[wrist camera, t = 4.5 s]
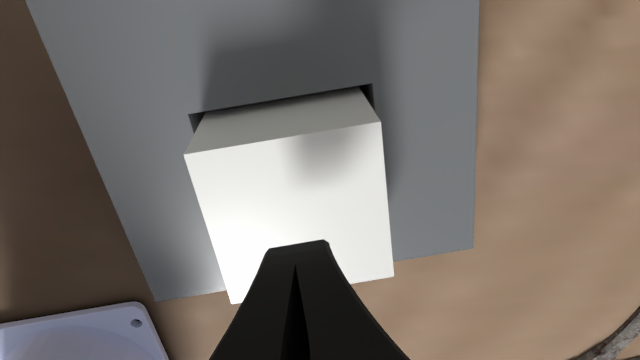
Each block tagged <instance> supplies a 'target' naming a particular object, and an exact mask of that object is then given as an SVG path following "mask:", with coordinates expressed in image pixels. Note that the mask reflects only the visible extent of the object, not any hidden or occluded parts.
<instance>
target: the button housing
mask: <svg viewBox="0 0 640 360" xmlns="http://www.w3.org/2000/svg"><path fill="white" fill-rule="evenodd" d="M25 2H26V4H27V6H28V9H29V11H30V13H31V16H32V18H33V20H34V22H35V25H36V27H37V29H38V32H39V34H40V36H41V39H42V41H43V43H44V46H45V48H46V50H47V53H48V55H49V57H50V59H51V62H52V64H53V66H54V69H55V71H56V73H57V76H58V78H59V80H60V83H61V85H62V87H63V90H64V92H65V94H66V97H67V99H68V101H69V103H70V106H71V108H72V110H73V113H74V115H75V117H76V120H77V122H78V124H79V127H80V129H81V131H82V134H83V136H84V138H85V140H86V143H87V145H88V147H89V150H90V152H91V154H92V157H93V159H94V161H95V164H96V166H97V168H98V171H99V173H100V175H101V178H102V180H103V182H104V184H105V187H106V189H107V191H108V194H109V196H110V198H111V201H112V203H113V205H114V208H115V210H116V212H117V215H118V217H119V219H120V221H121V224H122V226H123V228H124V231H125V233H126V235H127V238H128V240H129V242H130V245H131V247H132V249H133V252H134V254H135V256H136V259H137V261H138V263H139V265H140V268H141V270H142V272H143V275H144V277H145V279H146V282H147V284H148V286H149V289H150V291H151V293H152V296H153V298H154V300H155V302H160V301H166V300H172V299H177V298H183V297H189V296H195V295H201V294H207V293H213V292H219V291H224V290H227V288H226V285H225V282H224V279H223V276H222V273H221V270H220V267H219V263H218V260H217V257H216V254H215V251H214V248H213V245H212V242H211V239H210V236H209V233H208V229H207V226H206V223H205V220H204V217H203V214H202V211H201V208H200V205H199V202H198V198H197V195H196V192H195V189H194V186H193V183H192V180H191V177H190V174H189V171H188V168H187V164H186V161H185V158H184V155H183V154H184V152H185V151H186V149H187V147H188V145H189V143H190V141H191V139H192V137H193V135H194V133H195V131H196V130H197V128H198V126H199V124H200V122H201V120H202V118H203V116H204V114H205V112H208V111H210V110H216V109H222V108H228V107H234V106H240V105H246V104H252V103H258V102H263V101H269V100H275V99H281V98H287V97H293V96H299V95H305V94H311V93H317V92H323V91H329V90H335V89H341V88H347V87H353V86H359V88H360V90H361V91H362V93H363V94H364V96H365V97H366V99H367V101H368V102H369V104H370V105H371V107H372V108H373V110H374V111H375V113H376V115H377V116H378V118H379V119H380V121H381V128H382V140H383V152H384V164H385V175H386V187H387V199H388V210H389V222H390V234H391V246H392V257H393V262H395V261H401V260H407V259H413V258H419V257H424V256H430V255H436V254H442V253H448V252H454V251H460V250H466V249H472V248H473V243H474V202H475V160H476V118H477V76H478V34H479V0H25Z"/></svg>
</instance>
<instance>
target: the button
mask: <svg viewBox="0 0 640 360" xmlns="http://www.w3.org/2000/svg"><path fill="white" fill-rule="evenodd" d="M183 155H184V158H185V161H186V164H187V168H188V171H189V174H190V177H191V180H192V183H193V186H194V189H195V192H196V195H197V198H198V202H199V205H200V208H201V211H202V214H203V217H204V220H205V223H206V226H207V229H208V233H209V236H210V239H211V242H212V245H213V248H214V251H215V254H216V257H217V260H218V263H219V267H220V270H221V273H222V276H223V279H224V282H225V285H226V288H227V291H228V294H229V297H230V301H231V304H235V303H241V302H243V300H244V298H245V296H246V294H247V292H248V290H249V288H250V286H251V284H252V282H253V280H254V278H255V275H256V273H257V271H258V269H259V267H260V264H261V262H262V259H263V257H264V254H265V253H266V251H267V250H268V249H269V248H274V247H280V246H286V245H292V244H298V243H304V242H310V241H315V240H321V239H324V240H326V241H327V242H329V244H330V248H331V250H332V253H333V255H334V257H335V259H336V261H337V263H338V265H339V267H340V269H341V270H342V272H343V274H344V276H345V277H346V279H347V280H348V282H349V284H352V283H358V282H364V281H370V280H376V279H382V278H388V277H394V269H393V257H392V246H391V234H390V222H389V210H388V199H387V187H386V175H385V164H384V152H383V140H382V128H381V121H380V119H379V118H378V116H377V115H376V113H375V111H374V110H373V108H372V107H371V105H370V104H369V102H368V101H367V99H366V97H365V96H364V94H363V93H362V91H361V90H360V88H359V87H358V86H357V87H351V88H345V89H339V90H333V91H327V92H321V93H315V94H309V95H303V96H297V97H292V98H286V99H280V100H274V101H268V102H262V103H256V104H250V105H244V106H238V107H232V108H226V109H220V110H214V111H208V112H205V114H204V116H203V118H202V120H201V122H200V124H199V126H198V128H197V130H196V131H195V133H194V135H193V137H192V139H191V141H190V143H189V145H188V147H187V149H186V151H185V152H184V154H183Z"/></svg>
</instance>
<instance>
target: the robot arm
mask: <svg viewBox="0 0 640 360" xmlns="http://www.w3.org/2000/svg"><path fill="white" fill-rule="evenodd" d="M134 319H138V320H140V321H136V320H134ZM0 360H169V359H168V356H167V354H166V352H165V350H164V347H163V345H162V343H161V341H160V339H159V336H158V334H157V332H156V330H155V327H154V325H153V323H152V321H151V319H150V316H149V314H148V312H147V310H146V308H145V306H144V305H143V304H141V303H139V302H126V303H120V304H114V305H109V306H103V307H97V308H91V309H85V310H79V311H73V312H67V313H61V314H56V315H50V316H44V317H38V318H32V319H26V320H20V321H14V322H8V323H3V324H0ZM209 360H410V359H409V358H408V357H407V356H406V355H405V354H404V352H403V351H402V350H401V349H400V348H399V347H398V346H397V345H396V344H395V342H394V341H393V340H392V339H391V338H390V337H389V335H388V334H387V333H386V332H385V331H384V329H383V328H382V327H381V326H380V324H379V323H378V322H377V321H376V320H375V318H374V317H373V316H372V314H371V313H370V312H369V311H368V309H367V308H366V307H365V305H364V304H363V302H362V301H361V300H360V298H359V297H358V295H357V294H356V292H355V291H354V289H353V288H352V287H351V285H350V284H349V282H348V280H347V279H346V277H345V276H344V274H343V272H342V270H341V269H340V267H339V265H338V263H337V261H336V259H335V257H334V255H333V253H332V250H331V248H330V244H329V242H327V241H326V240H324V239H321V240H315V241H310V242H304V243H298V244H292V245H286V246H280V247H274V248H269V249H268V250H267V251H266V253H265V254H264V257H263V259H262V262H261V264H260V267H259V269H258V271H257V273H256V275H255V278H254V280H253V282H252V284H251V286H250V288H249V290H248V292H247V294H246V296H245V298H244V300H243V302H242V304H241V306H240V307H239V309H238V311H237V313H236V315H235V317H234V319H233V321H232V322H231V324H230V326H229V328H228V329H227V331H226V332H225V334H224V336H223V337H222V339H221V341H220V342H219V344H218V346H217V347H216V349H215V351H214V352H213V354H212V356H211V357H210V359H209Z"/></svg>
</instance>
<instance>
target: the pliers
mask: <svg viewBox="0 0 640 360" xmlns="http://www.w3.org/2000/svg"><path fill="white" fill-rule="evenodd" d="M639 334H640V307H639V308H638V309H637V310H636V311H635V312H634V313H633V315H632V316H631V317H630V318H629V319H628V320H627V321H626V322H625V323H624V324H623V325H622V326H621V327H620V328H619V329H618V330H617V331H616V332H614V333H613V334H612V335H611V336H610V337H609V338H607V339H606V340H605V341H603V342H602V343H601V344H599V345H598V346H596V347H595V348H593V349H591V350H590V351H588V352H587V353H585V354H584V355H582V356H581V357H579V358H577V359H576V360H614V359H615V358H616V357H617V356H618V354H619V353H620V352H621V351H622V350H623V349H624V348H625V347H626V346H627V345H628V344H629V343H630V342H631V341H632V340H633V339H635V338H636V337H637V336H638V335H639ZM630 360H640V357H637V358H633V359H630Z"/></svg>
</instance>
